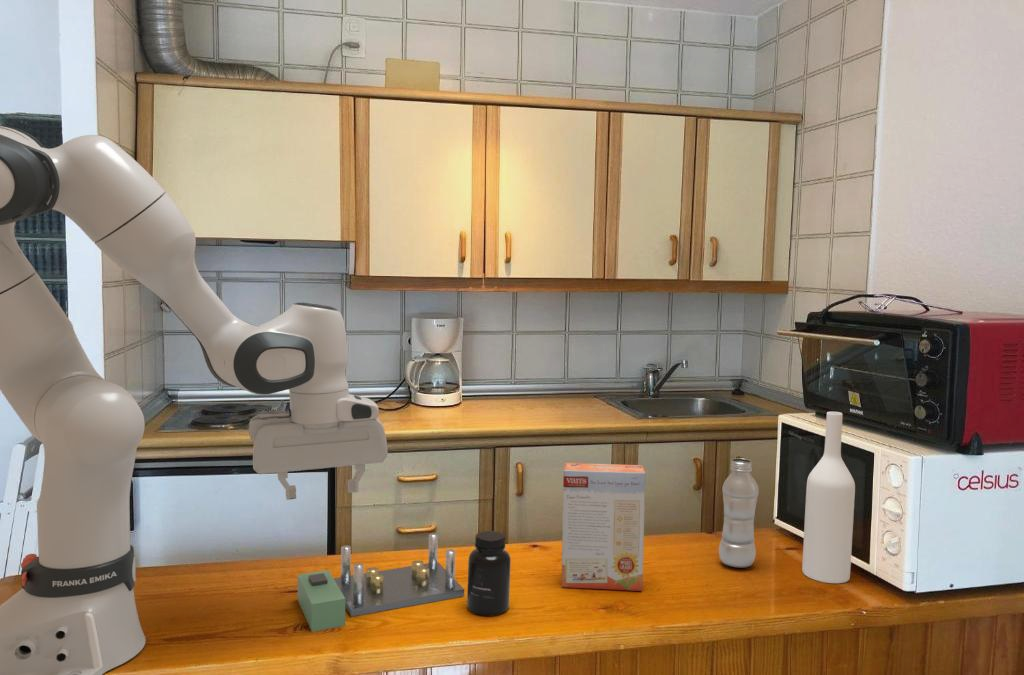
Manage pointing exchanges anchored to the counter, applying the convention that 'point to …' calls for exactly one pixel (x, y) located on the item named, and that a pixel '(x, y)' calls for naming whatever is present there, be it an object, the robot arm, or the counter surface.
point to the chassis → (397, 583)
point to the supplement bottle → (489, 575)
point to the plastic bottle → (739, 515)
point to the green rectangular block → (321, 600)
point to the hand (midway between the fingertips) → (322, 495)
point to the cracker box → (603, 526)
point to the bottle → (829, 512)
